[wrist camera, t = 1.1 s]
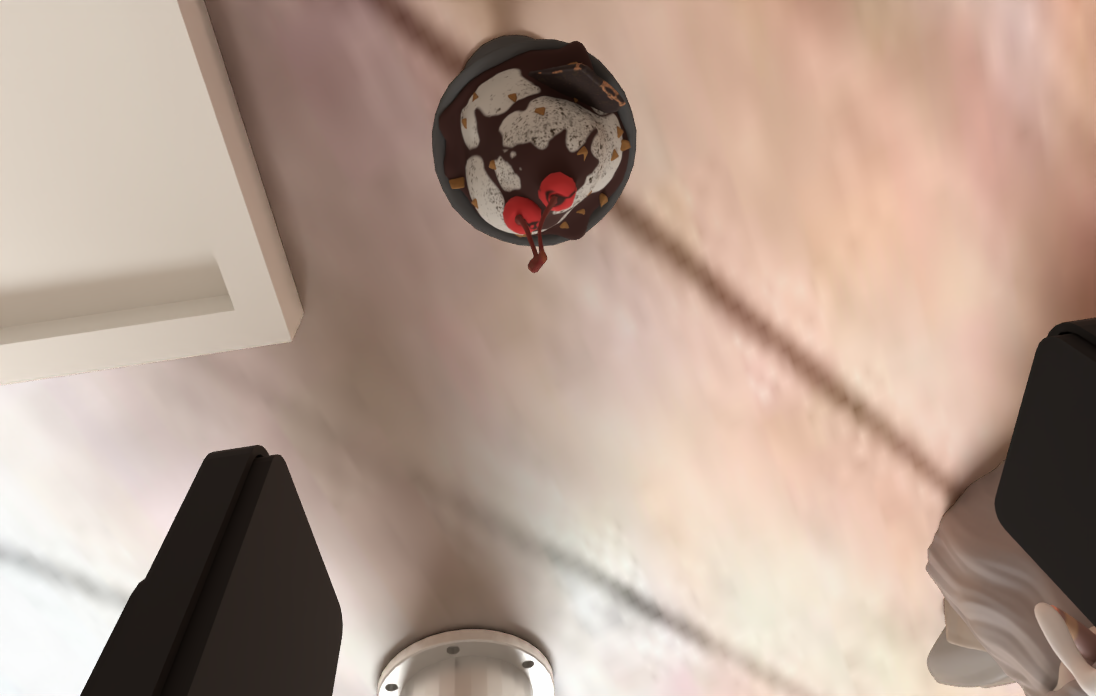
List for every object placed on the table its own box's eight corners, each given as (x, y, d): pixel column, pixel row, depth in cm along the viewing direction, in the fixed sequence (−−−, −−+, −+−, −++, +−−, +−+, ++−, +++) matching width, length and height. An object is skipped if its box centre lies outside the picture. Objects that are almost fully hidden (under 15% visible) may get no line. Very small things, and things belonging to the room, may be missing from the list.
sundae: (477, 191, 34) (489, 343, 21) (414, 49, 30) (381, 126, 17) (607, 137, 33) (703, 260, 20) (557, -12, 30) (633, 19, 17)
